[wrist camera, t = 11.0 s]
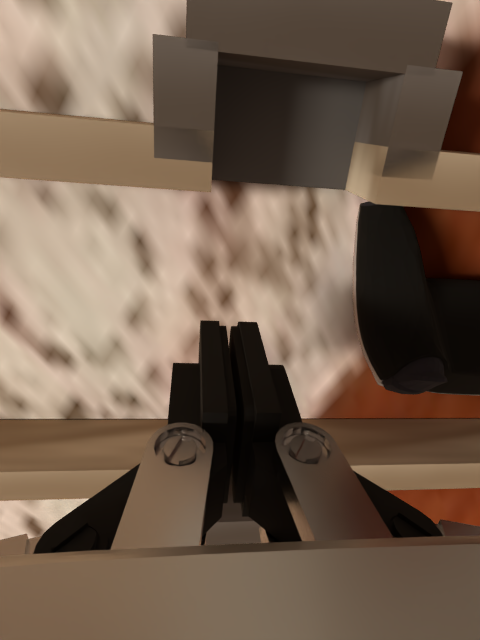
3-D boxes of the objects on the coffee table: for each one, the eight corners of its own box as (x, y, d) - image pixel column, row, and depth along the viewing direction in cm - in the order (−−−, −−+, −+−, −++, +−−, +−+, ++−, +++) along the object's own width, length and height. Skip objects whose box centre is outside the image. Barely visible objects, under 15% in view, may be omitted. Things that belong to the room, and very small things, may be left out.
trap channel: (-313, -69, 10) (-586, -168, 7) (743, 73, 14) (923, 58, 11) (-84, 499, 19) (-146, 584, 16) (514, 483, 24) (571, 548, 20)
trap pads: (212, 65, 13) (213, 64, 12) (362, 82, 13) (366, 81, 13) (194, 470, 20) (194, 475, 20) (288, 468, 21) (289, 473, 21)
